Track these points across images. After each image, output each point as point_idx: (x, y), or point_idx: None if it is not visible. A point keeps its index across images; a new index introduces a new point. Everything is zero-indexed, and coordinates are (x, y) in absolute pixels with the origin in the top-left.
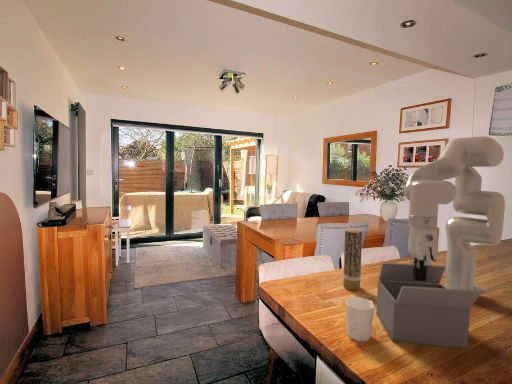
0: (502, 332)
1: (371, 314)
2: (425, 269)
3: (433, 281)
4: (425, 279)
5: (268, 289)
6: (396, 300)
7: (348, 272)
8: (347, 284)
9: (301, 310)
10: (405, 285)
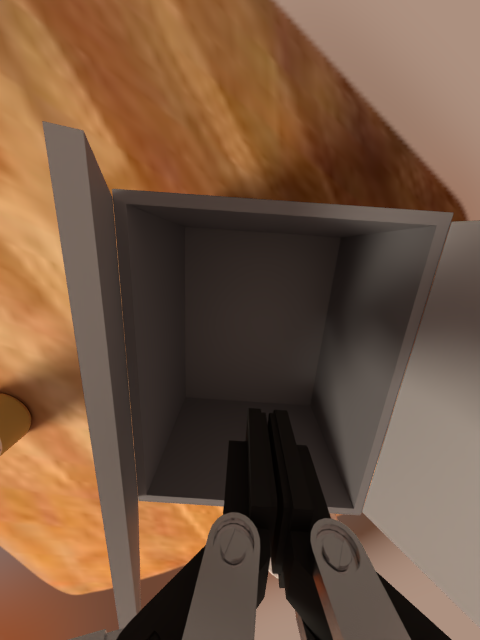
0: (252, 3)
1: (334, 517)
2: (308, 507)
3: (115, 243)
4: (288, 419)
5: (99, 587)
6: (374, 522)
7: None
8: (15, 442)
9: (192, 541)
10: (145, 386)
